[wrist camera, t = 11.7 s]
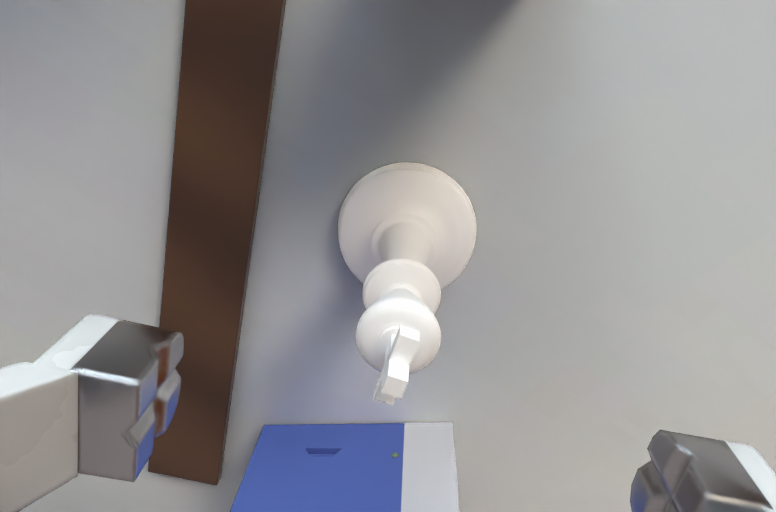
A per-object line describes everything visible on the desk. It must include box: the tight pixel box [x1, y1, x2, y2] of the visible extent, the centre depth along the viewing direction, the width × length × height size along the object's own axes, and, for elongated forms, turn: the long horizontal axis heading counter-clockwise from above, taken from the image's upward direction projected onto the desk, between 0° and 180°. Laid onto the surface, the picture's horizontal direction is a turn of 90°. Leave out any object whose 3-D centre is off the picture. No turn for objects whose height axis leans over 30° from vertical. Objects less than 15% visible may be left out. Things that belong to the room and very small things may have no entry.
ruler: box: [148, 0, 286, 485], centre depth 21 cm, size 24×3×1 cm, turn 168°
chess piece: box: [338, 162, 476, 405], centre depth 17 cm, size 5×5×10 cm
